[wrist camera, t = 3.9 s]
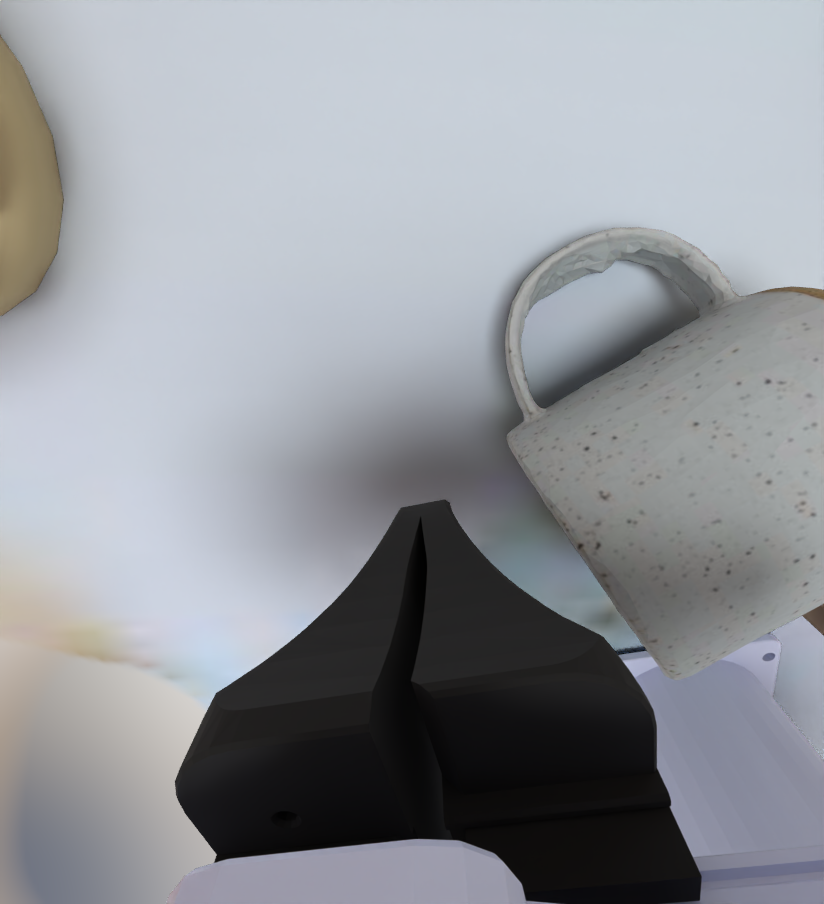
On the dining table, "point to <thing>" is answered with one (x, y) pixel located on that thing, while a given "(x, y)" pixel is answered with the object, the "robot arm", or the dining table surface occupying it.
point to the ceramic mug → (688, 455)
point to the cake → (25, 187)
